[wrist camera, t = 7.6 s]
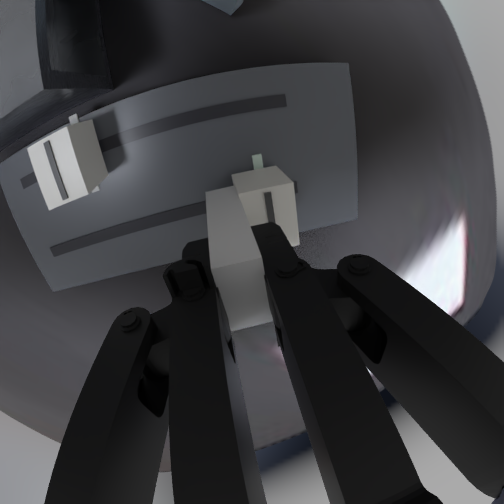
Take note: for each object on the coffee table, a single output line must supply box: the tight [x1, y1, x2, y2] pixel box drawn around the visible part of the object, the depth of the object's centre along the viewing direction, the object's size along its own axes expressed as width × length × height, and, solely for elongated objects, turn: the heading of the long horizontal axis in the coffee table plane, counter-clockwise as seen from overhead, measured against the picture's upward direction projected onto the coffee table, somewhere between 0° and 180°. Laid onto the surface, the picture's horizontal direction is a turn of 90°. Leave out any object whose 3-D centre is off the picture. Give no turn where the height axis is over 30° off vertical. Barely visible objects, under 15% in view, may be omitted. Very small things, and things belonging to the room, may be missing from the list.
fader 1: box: [27, 119, 109, 210], centre depth 10 cm, size 2×3×3 cm
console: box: [0, 63, 358, 292], centre depth 14 cm, size 22×10×2 cm, turn 100°
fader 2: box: [231, 166, 300, 247], centre depth 14 cm, size 2×3×3 cm
